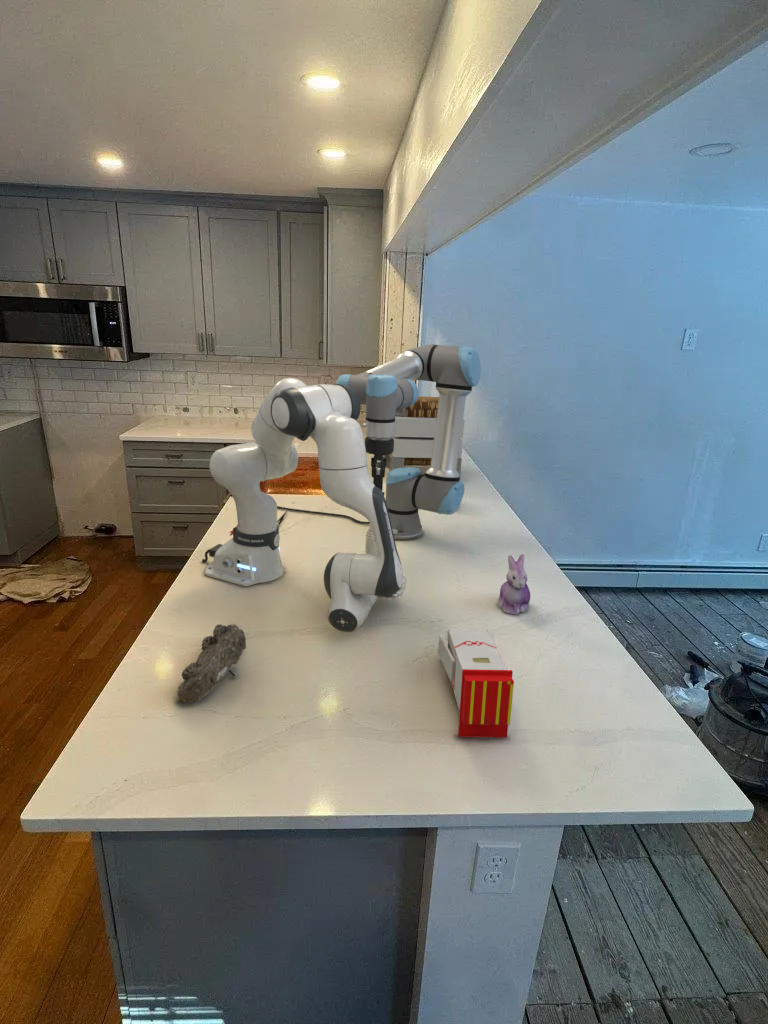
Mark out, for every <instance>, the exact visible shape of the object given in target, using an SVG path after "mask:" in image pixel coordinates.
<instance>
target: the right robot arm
mask: <svg viewBox="0 0 768 1024" xmlns="http://www.w3.org/2000/svg"><path fill="white" fill-rule="evenodd" d="M481 370H482V365H481V359H480V355H479V352H478V351H477V350H476V349H475V348H473V347H469V346H463V345H460V346H459V345H457V346H456V345H444V344H443V345H442V344H425V345H421V346H417V347H413V348H410V349H408V350H405V351H403V352H400V354H398V356H397V357H396V358H394V359H392V360H390V361H387V362H385V363H382V364H380V365H377V366H375V367H373V368H370V369H368V370H365V371H364V372H361V373H358V374H352V373H348V374H341V375H340V376H339V377H337V380H336V382H335V384H343V385H347V386H349V387H351V388H353V389H354V390H355V391H356V393H357V395H358V397H359V400H360V405H365V423H363V424H362V427H363V428H365V429H364V431H365V433H364V435H365V438H364V442H365V448H366V454H369V455H373V457H371V458H370V467H371V477H372V478H373V479H372V480H373V481H372V482H373V484H374V485H375V486H376V487H378V488H379V489H381V490H382V492H383V495H384V496H385V500H386V504H387V508H388V512H389V516H390V521H391V525H392V530H393V535H394V539H395V541H410V540H415V539H418V538H420V537H421V536H422V535H423V525H422V524H421V518H420V515H419V510H421V511H427V512H430V513H431V512H432V513H436V514H439V515H446V516H447V515H448V516H451V515H453V514H455V513H456V512H457V510H458V509H459V508H460V506H461V503H462V502H463V498H464V495H465V483H464V482H462V480H461V474H460V475H459V473H458V472H457V470H456V468H457V460H458V453H459V445H460V439H462V438H461V430H462V423H463V419H464V417H465V416H464V415H465V407H466V400H467V396H469V394H471V393H472V391H473V387H477V386H478V385H479V382H480V380H481V375H482V374H481V373H482V372H481ZM415 381H425V382H432V383H435V390H436V391H437V392H438V395H439V396H438V397H439V402H438V410H437V418H436V426H435V434H434V442H433V450H432V458H431V465H430V466H429V468H427V469H426V470H424V474H422V470H421V468H419V467H415V466H411V467H409V466H406V467H405V466H404V468H397V469H393V470H391V471H390V470H389V471H388V473H387V475H386V467H387V466H386V458H384V455H388V454H391V453H393V451H394V439H393V438H392V437H394V436H395V413H396V410H399V409H403V408H404V409H405V408H408V407H409V406H411V405H413V404H414V403H415V402H416V401H417V399H418V397H420V396H419V395H420V391H419V387H418V385H417V384H416V382H415ZM385 477H386V480H385V491H383V484H384V478H385ZM459 480H460V481H459ZM229 497H233V496H232V495H231V494H230V495H229ZM277 509H280V510H284V511H285V510H286V511H292V512H297V513H298V512H299V513H308V514H313V515H314V514H315V515H324V516H332V517H342V518H346V519H350V520H351V521H354V522H356V523H358V524H361V525H371V524H370V523H369V521H362V520H358V519H356V518H354V517H352V516H350V515H345V514H340V513H331V512H322V511H313V510H306V509H297V508H291V507H284V506H279V505H277Z"/></svg>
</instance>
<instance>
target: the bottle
mask: <svg viewBox="0 0 768 1024" xmlns="http://www.w3.org/2000/svg"><path fill="white" fill-rule="evenodd" d="M364 551H365V552H364V554H377V549H376V545H375V540H374V536H373V531H372V527H371V525H370V526H369V527H368V530H367V531H366V534H365V549H364Z"/></svg>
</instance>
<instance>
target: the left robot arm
mask: <svg viewBox="0 0 768 1024" xmlns="http://www.w3.org/2000/svg"><path fill="white" fill-rule="evenodd" d="M361 407H362V406H361V404H360V400H359V397H358V395H357V393H356V391H355V390H354V389H353V388H351V387H349V386H347V385H343V384H336V383H333V384H330V383H329V384H328V383H315V384H310V385H307V384H306V383H305V382H304V381H302V380H300V379H298V378H296V377H285V378H282V379H280V380H279V381H278V382H276V383H275V385H274V386H273V388H272V389H271V390H270V391H269V392H268V394H267V395H266V397H265V398H264V400H263V402H262V404H261V406H260V407H259V409H258V411H257V413H256V415H255V416H254V419H253V420H252V422H251V426H250V430H251V436H252V438H253V440H254V441H251V442H243V443H238V444H237V443H236V444H231V445H228V446H227V445H226V446H225V447H222V448H219V449H217V450H214V452H213V453H212V455H211V457H210V459H209V464H208V465H209V472H210V475H211V477H212V479H213V480H214V481H215V482H216V483H217V484H218V485H220V486H221V487H223V488H225V489H226V490H227V491H228V492H229V494H230V495H232V496H231V497H232V498H233V500H234V504H235V508H236V509H235V510H236V518H237V519H236V520H237V523H236V524H237V525H236V526H235V527H233V528H232V530H230V531H229V536H230V537H231V536H233V537H232V538H231V539H229V540H228V541H226V542H224V543H223V544H221V543H218V544H216V545H215V546H213V547H211V548H209V549H207V550H206V551H205V553H204V558H202V559H201V561H202V562H204V563H207V561H208V560H209V557H210V558H213V559H212V560H213V561H212V562H210V563H209V564H208V565H207V566H206V568H205V576H207V577H209V578H210V577H211V578H214V579H218V580H222V581H225V582H228V583H232V584H235V585H239V586H243V587H250V586H254V585H256V584H264V583H268V582H272V581H275V580H277V579H280V577H282V576H283V575H284V573H285V569H284V566H283V562H282V559H281V553H280V550H281V548H280V539H281V538H280V526H279V524H278V522H277V521H278V508H277V506H278V503H277V502H276V499H274V497H273V496H272V495H270V494H269V493H267V492H264V491H262V489H261V485H260V484H261V482H265V481H270V480H275V479H280V478H283V477H285V476H287V475H289V474H291V473H294V472H295V471H296V469H297V467H298V463H299V453H298V450H297V448H296V446H295V445H294V444H293V441H294V440H295V439H298V440H300V441H302V442H305V441H307V440H308V439H309V438H310V439H312V440H313V441H314V442H315V444H316V447H317V454H318V455H317V459H318V476H319V483H320V488H321V490H322V492H323V493H324V494H325V496H326V497H328V499H329V500H330V501H332V502H333V503H335V504H337V505H339V506H341V507H344V508H346V509H349V510H352V511H354V512H355V513H357V514H359V515H361V516H362V517H364V518H365V519H366V521H367V522H369V523H370V524H369V525H370V526H371V527H372V531H373V536H374V540H375V545H376V549H377V554H365V553H357V552H337V553H335V554H334V555H333V556H331V557H330V559H329V560H328V562H327V563H326V565H325V568H324V572H323V585H324V589H325V592H326V593H327V595H328V597H329V599H330V606H329V608H328V609H329V610H328V612H327V613H328V614H327V619H328V622H329V625H330V626H332V628H333V629H335V630H337V631H338V632H343V633H353V632H355V631H356V630H358V629H359V628H361V626H362V625H363V623H364V622H365V620H366V619H367V618H368V616H369V614H370V612H371V609H372V608H373V606H374V605H375V603H376V601H377V599H378V598H387V599H389V598H390V599H397V598H399V597H402V596H403V593H404V591H405V590H406V588H407V577H406V576H405V575H404V569H403V565H402V562H401V558H400V556H399V552H398V548H397V545H396V540H395V539H394V535H393V530H392V525H391V521H390V516H389V512H388V508H387V504H386V496H385V494H384V495H383V492H384V491H383V489H382V490H381V489H379V488H378V487H376V486H375V485H374V484H373V481H372V480H373V479H372V478H371V476H370V474H369V470H368V457H367V452H366V448H365V438H364V437H365V436H364V433H363V429H362V426H361V424H360V423H359V422H358V419H359V417H360V415H361ZM278 526H279V527H278ZM208 556H209V557H208Z"/></svg>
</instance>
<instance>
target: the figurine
mask: <svg viewBox="0 0 768 1024" xmlns="http://www.w3.org/2000/svg"><path fill="white" fill-rule="evenodd" d="M507 561H508V562H507V563H508V571H507V573H506V576H505V578H506V581H505V582H504V583H503V584H501V586H500V588H499V589H500V590H499V598H498V605H499V607H500V608H501V609H502V611H503V612H504V613H507V614H511V615H518V614H519V613H525V612H526V611H527V609H528V607H529V604H530V601H531V591H530V588H529V585H528V584H527V582H528V575H527V571H526V570H525V568H524V567H525V566H524V563H525V554H524V553H521V554H520V555H519V557H518V558H517V560H515V559H514V557H513V556H512V555H511V554H509V555H508V556H507Z"/></svg>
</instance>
